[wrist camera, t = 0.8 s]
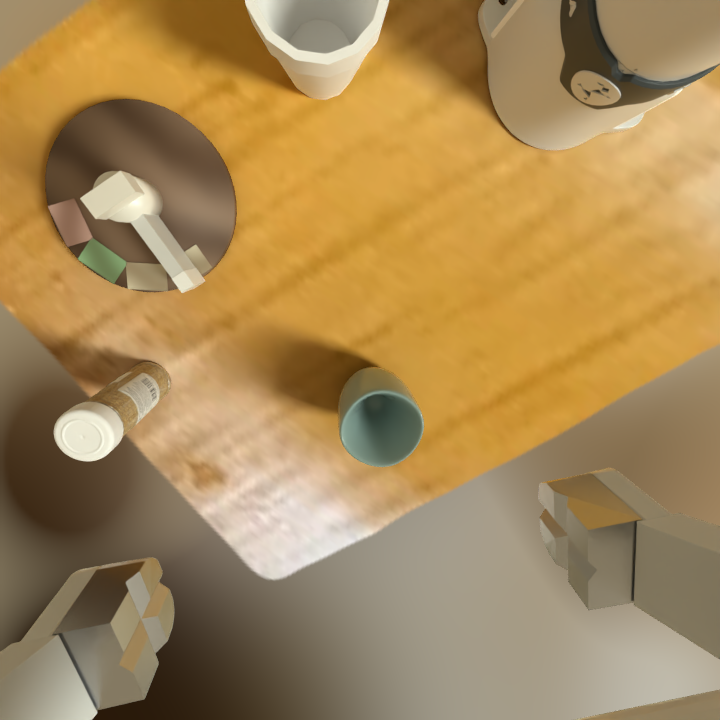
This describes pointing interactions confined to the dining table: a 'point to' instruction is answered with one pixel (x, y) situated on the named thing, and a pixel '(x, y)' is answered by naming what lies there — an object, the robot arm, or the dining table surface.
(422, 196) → the dining table surface
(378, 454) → the cup
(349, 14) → the foam cup
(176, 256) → the cream toy mallet
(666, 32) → the robot arm
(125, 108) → the dial
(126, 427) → the sprinkles bottle
